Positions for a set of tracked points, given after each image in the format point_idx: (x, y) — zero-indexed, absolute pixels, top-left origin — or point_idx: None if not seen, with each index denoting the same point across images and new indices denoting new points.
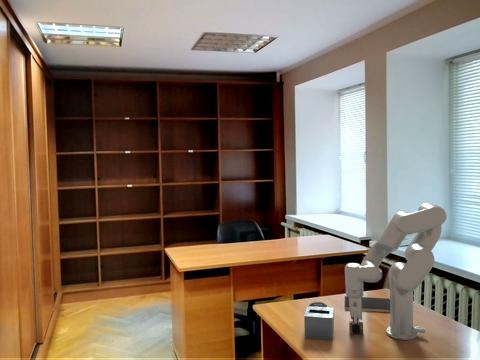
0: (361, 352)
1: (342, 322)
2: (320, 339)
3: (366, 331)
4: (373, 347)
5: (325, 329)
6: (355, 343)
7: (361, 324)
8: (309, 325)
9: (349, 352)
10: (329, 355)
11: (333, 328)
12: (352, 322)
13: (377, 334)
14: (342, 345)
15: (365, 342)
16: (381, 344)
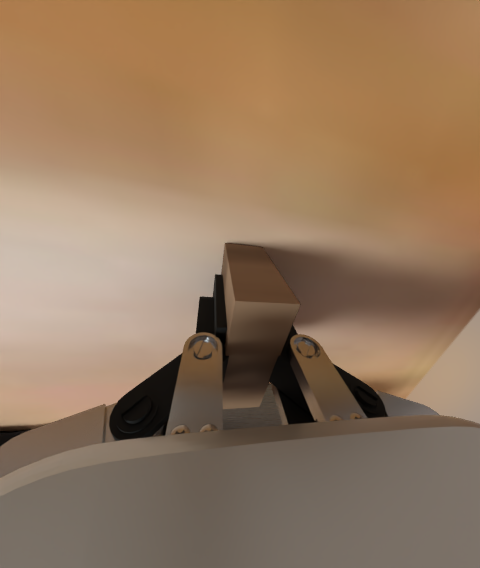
0: (472, 286)
1: (59, 358)
2: None
3: (185, 207)
4: (469, 204)
5: None
6: (369, 305)
7: (288, 315)
8: None
9: (438, 332)
10: (418, 382)
11: (237, 410)
12: (252, 390)
13: (251, 82)
14: (366, 354)
15: (379, 249)
16: (471, 109)
